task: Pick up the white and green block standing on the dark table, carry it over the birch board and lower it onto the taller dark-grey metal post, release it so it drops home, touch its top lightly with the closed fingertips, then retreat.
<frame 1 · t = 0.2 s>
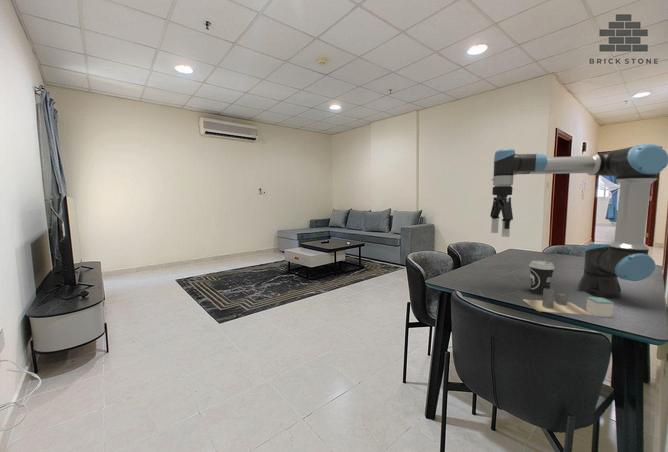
hand: (499, 234, 128), 28 cm above the table, fingers open, 13 cm apart
post tall: (547, 306, 114), resting on board
board: (554, 309, 114), on the table
white and green block: (598, 316, 107), on the table
post short: (560, 304, 117), resting on board
coffee cup: (539, 295, 132), on the table
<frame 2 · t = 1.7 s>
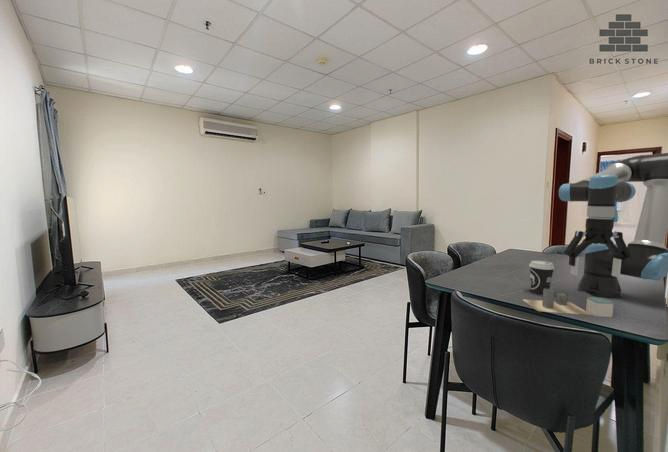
hand: (594, 275, 107), 15 cm above the table, fingers open, 13 cm apart
nothing on the table moved.
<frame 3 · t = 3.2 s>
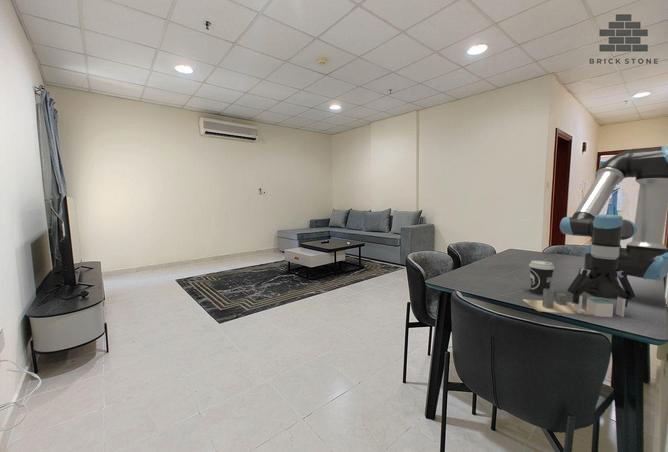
hand: (598, 313, 107), 1 cm above the table, fingers open, 13 cm apart
nothing on the table moved.
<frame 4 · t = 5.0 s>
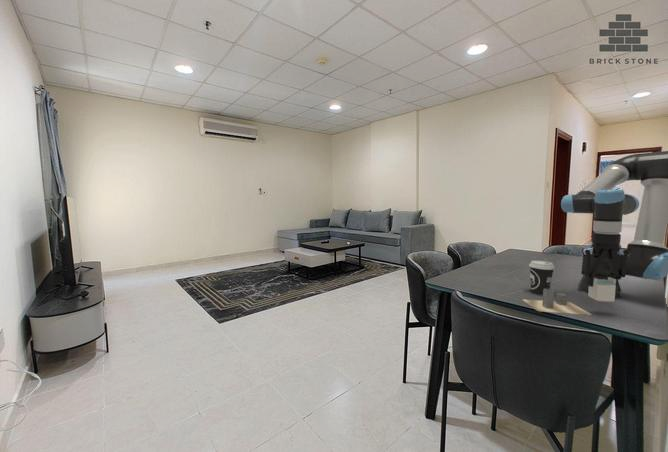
hand: (601, 294, 107), 8 cm above the table, fingers closed on white and green block, 5 cm apart
white and green block: (600, 298, 107), point 7 cm above the table, touching gripper
everything else where it was.
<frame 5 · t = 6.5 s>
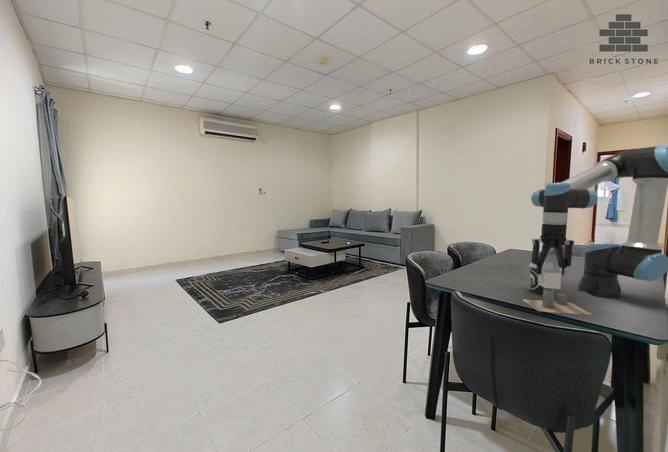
hand: (549, 282, 113), 11 cm above the table, fingers closed on white and green block, 5 cm apart
white and green block: (548, 286, 113), point 9 cm above the table, touching gripper
everything else where it was.
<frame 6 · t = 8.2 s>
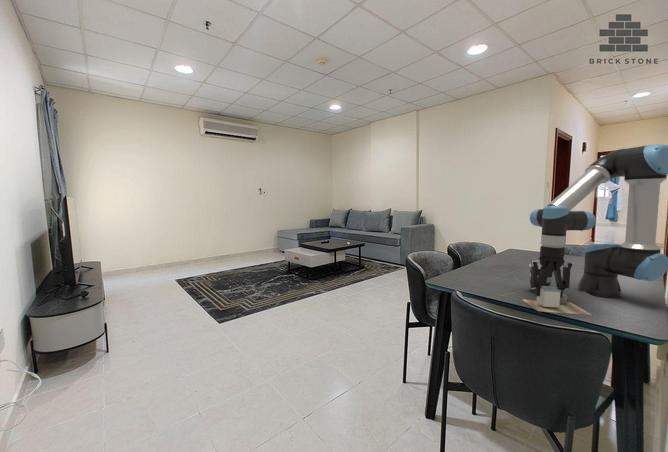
hand: (547, 304, 114), 2 cm above the table, fingers closed on white and green block, 5 cm apart
white and green block: (547, 304, 114), point 2 cm above the table, touching gripper, post tall
everything else where it was.
when the fingers open (2 cm above the table, at t = 8.2 s): white and green block stays where it is, resting on post tall.
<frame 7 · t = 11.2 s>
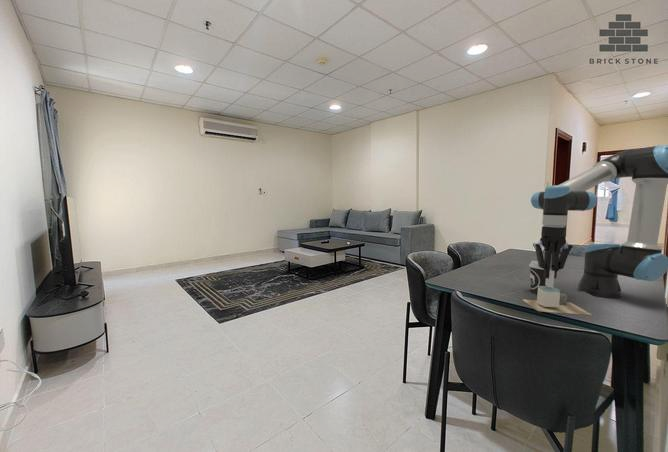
hand: (549, 286, 113), 10 cm above the table, fingers closed
white and green block: (547, 304, 114), point 2 cm above the table, touching post tall
everything else where it was.
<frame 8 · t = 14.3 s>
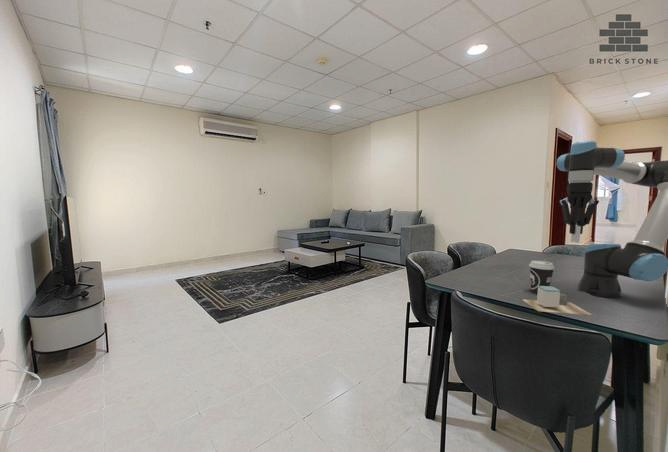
hand: (575, 242, 115), 26 cm above the table, fingers closed
nothing on the table moved.
at the end: white and green block 0.1 cm off-centre on the post tall, point 1.0 cm above the post tall's base; white and green block tilted 0°; the gripper is holding nothing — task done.
